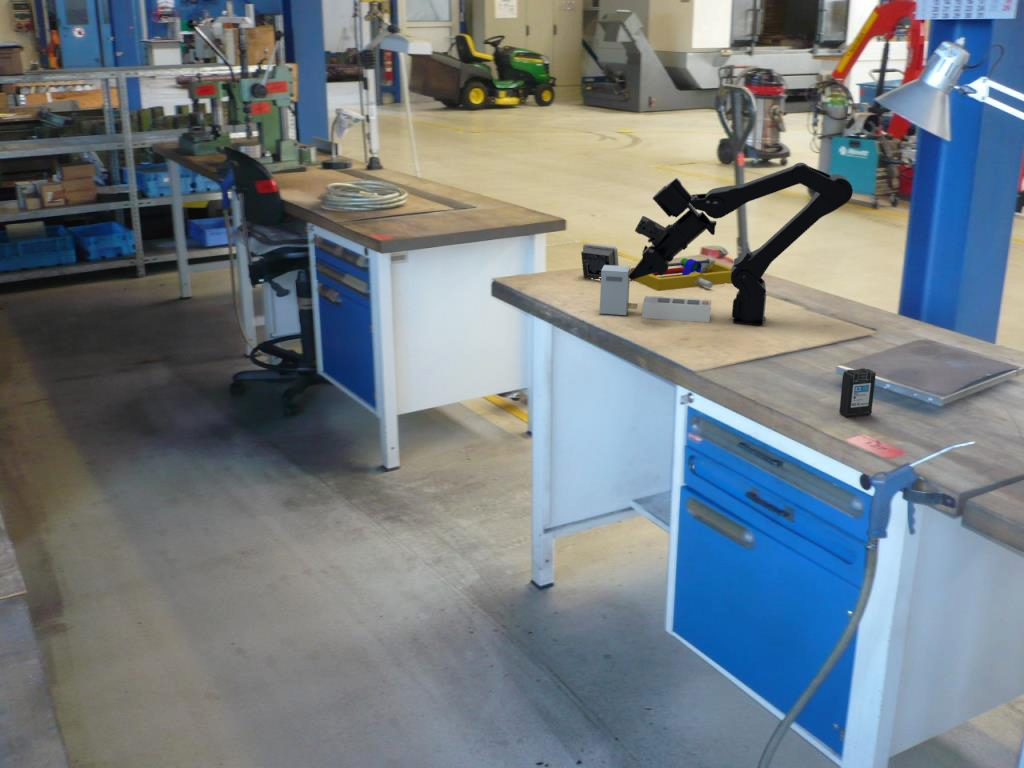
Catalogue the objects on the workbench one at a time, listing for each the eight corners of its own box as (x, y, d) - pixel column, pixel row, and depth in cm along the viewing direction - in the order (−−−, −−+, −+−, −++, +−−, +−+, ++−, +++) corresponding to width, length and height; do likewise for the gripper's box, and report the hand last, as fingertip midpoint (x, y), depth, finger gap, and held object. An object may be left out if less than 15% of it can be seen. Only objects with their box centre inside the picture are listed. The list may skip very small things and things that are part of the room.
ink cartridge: (845, 418, 182) (850, 374, 180) (838, 413, 184) (843, 370, 182) (871, 415, 183) (876, 371, 181) (864, 411, 186) (868, 367, 183)
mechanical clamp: (616, 258, 272) (713, 249, 284) (615, 282, 274) (712, 272, 286) (654, 273, 257) (756, 263, 269) (653, 298, 259) (754, 287, 271)
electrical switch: (619, 280, 274) (620, 245, 270) (611, 286, 270) (611, 250, 266) (587, 275, 279) (586, 241, 275) (578, 281, 274) (577, 246, 271)
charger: (637, 309, 246) (640, 267, 243) (635, 315, 241) (637, 272, 237) (602, 307, 247) (604, 264, 244) (599, 313, 242) (601, 270, 239)
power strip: (711, 303, 253) (712, 288, 252) (709, 322, 237) (710, 306, 236) (647, 299, 256) (648, 284, 254) (641, 318, 240) (642, 301, 239)
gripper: (661, 198, 243) (610, 243, 249) (655, 212, 226) (601, 260, 232) (693, 234, 244) (642, 278, 250) (690, 251, 227) (635, 298, 233)
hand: (630, 277), depth 241 cm, fingers closed, pressing on charger
